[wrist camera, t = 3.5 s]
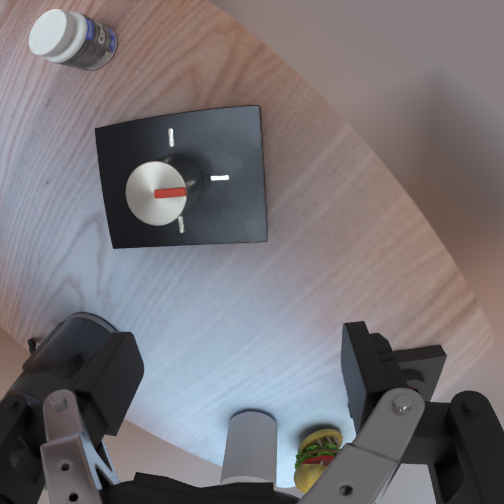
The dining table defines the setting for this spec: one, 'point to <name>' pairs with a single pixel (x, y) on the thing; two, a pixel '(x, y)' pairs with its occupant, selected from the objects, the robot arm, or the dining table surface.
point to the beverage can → (250, 449)
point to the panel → (211, 167)
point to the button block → (421, 369)
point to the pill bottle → (72, 40)
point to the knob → (163, 189)
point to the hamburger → (315, 456)
